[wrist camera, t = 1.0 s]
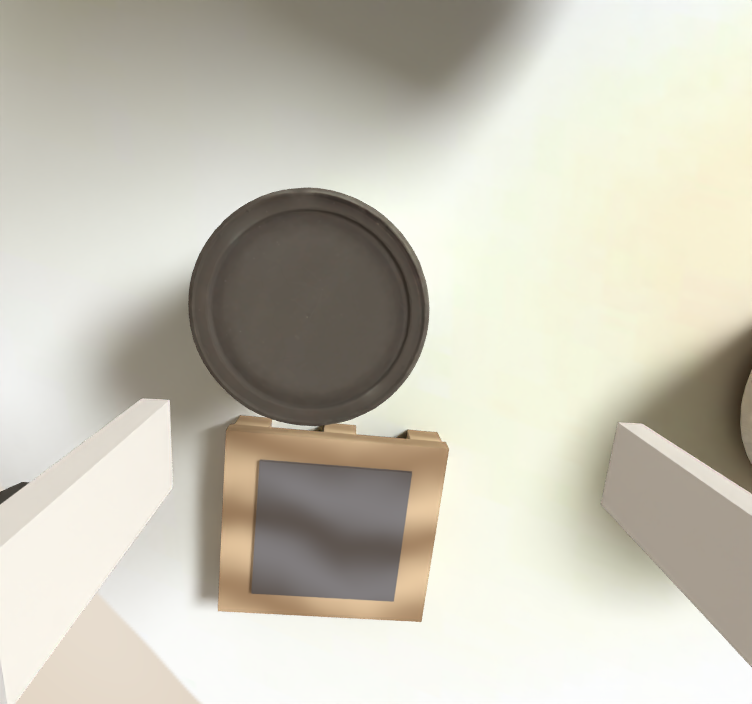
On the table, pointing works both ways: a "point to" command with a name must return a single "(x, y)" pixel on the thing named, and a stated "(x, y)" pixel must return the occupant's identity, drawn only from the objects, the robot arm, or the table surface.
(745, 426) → the planter
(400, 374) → the coffee can
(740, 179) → the table surface
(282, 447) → the dock
